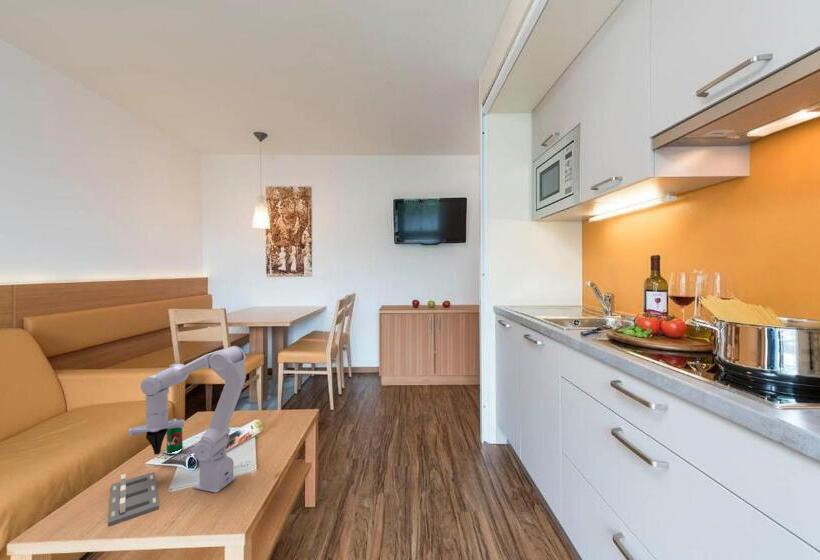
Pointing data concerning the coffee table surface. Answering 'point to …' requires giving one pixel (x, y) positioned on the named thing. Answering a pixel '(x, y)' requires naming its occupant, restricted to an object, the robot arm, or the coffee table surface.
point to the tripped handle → (122, 505)
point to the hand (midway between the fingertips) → (157, 452)
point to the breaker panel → (133, 497)
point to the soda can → (174, 439)
